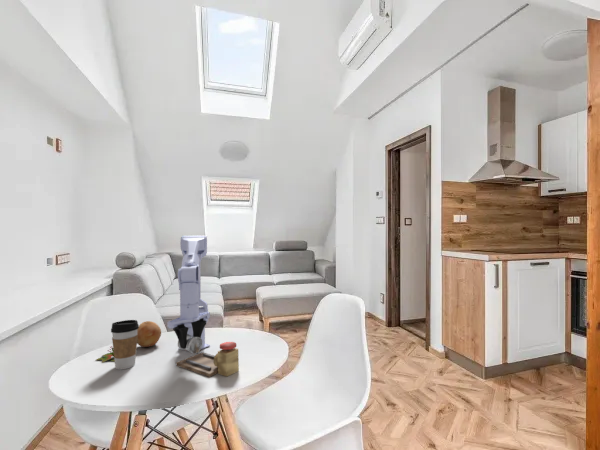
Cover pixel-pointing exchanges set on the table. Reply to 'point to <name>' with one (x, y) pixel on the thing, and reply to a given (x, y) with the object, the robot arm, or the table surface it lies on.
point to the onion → (148, 334)
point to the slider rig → (214, 361)
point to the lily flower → (107, 356)
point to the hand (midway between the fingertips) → (190, 345)
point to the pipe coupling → (192, 344)
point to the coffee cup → (124, 343)
